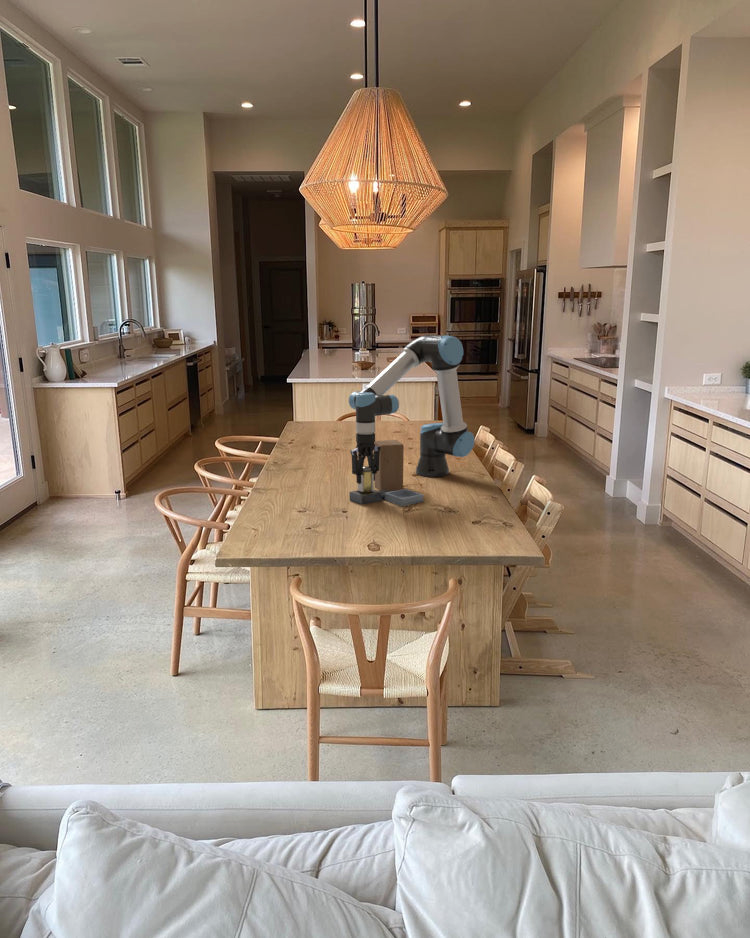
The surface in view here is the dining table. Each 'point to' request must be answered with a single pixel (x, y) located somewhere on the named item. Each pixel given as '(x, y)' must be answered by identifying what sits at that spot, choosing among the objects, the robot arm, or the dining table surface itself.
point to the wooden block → (390, 465)
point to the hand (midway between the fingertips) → (365, 489)
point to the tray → (403, 497)
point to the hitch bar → (368, 496)
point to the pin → (366, 479)
